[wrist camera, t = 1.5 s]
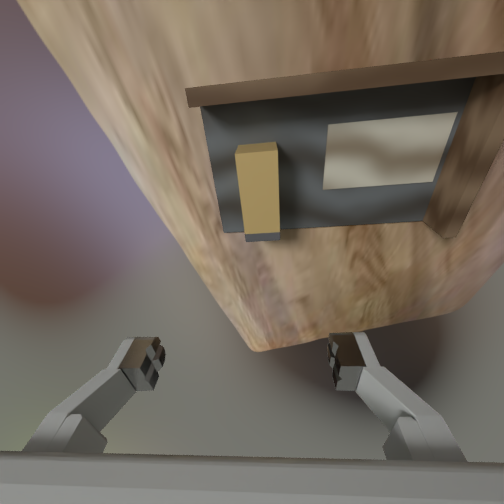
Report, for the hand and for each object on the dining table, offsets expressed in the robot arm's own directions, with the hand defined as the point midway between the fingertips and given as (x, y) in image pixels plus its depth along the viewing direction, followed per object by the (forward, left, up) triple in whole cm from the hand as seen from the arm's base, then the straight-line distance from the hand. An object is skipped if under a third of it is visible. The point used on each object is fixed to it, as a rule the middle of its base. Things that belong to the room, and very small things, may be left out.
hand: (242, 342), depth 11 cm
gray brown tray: (-1, +10, -24) cm, 26 cm away
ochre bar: (+1, +1, -24) cm, 24 cm away
